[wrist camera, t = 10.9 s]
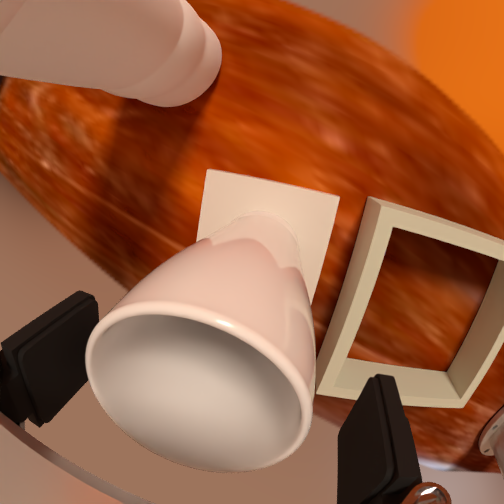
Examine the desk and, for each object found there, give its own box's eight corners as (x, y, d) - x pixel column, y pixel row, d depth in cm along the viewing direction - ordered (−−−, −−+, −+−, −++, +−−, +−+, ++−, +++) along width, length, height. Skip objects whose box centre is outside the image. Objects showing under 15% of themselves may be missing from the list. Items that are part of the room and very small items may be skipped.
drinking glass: (219, 292, 23) (123, 455, 9) (207, 201, 21) (50, 295, 7) (311, 290, 22) (310, 481, 8) (308, 195, 20) (320, 301, 6)
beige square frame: (512, 243, 19) (538, 259, 15) (449, 380, 23) (462, 407, 20) (367, 196, 20) (381, 205, 16) (315, 361, 25) (315, 393, 21)
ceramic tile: (338, 195, 20) (339, 197, 20) (307, 311, 23) (307, 316, 23) (210, 168, 21) (207, 169, 20) (194, 284, 24) (190, 288, 23)
